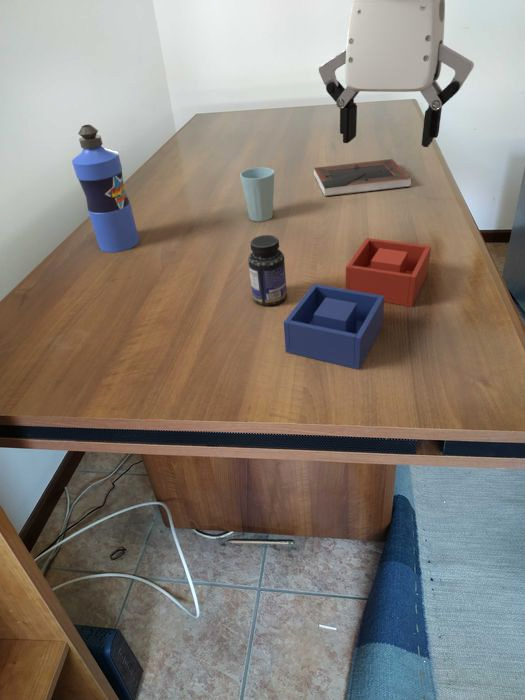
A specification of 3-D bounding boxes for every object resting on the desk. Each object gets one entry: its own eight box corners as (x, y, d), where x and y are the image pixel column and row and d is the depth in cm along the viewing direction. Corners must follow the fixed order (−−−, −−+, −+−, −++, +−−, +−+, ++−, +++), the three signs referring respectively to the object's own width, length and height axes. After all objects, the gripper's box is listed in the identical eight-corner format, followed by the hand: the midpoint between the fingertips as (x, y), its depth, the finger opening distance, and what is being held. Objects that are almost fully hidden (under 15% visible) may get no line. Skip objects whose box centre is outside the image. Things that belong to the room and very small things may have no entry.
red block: (405, 277, 89) (407, 251, 86) (397, 290, 86) (400, 265, 83) (377, 272, 91) (379, 248, 88) (369, 286, 88) (371, 260, 85)
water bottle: (147, 235, 115) (119, 119, 99) (125, 254, 108) (92, 132, 93) (113, 233, 118) (81, 119, 102) (90, 250, 111) (52, 132, 96)
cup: (283, 218, 116) (280, 173, 109) (252, 226, 114) (247, 181, 107) (269, 208, 121) (265, 165, 115) (240, 215, 119) (235, 172, 113)
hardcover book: (324, 197, 124) (410, 187, 124) (324, 187, 123) (411, 177, 123) (314, 176, 137) (391, 167, 137) (313, 166, 136) (392, 158, 136)
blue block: (356, 330, 78) (357, 303, 74) (345, 348, 74) (346, 320, 71) (325, 324, 80) (325, 297, 77) (314, 341, 76) (313, 314, 73)
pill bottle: (290, 290, 90) (287, 233, 83) (282, 308, 85) (278, 250, 79) (257, 288, 92) (252, 232, 85) (248, 305, 87) (241, 248, 80)
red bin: (427, 274, 90) (431, 245, 87) (412, 307, 82) (415, 277, 79) (365, 264, 95) (366, 237, 92) (345, 295, 87) (345, 266, 84)
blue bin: (382, 326, 79) (384, 295, 75) (359, 369, 71) (360, 338, 68) (314, 312, 84) (313, 283, 80) (285, 352, 76) (283, 321, 72)
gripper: (494, -44, 50) (466, 136, 60) (331, -28, 57) (331, 131, 67) (483, -41, 45) (455, 155, 55) (306, -24, 52) (310, 147, 62)
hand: (387, 141), depth 61 cm, fingers open, 9 cm apart
